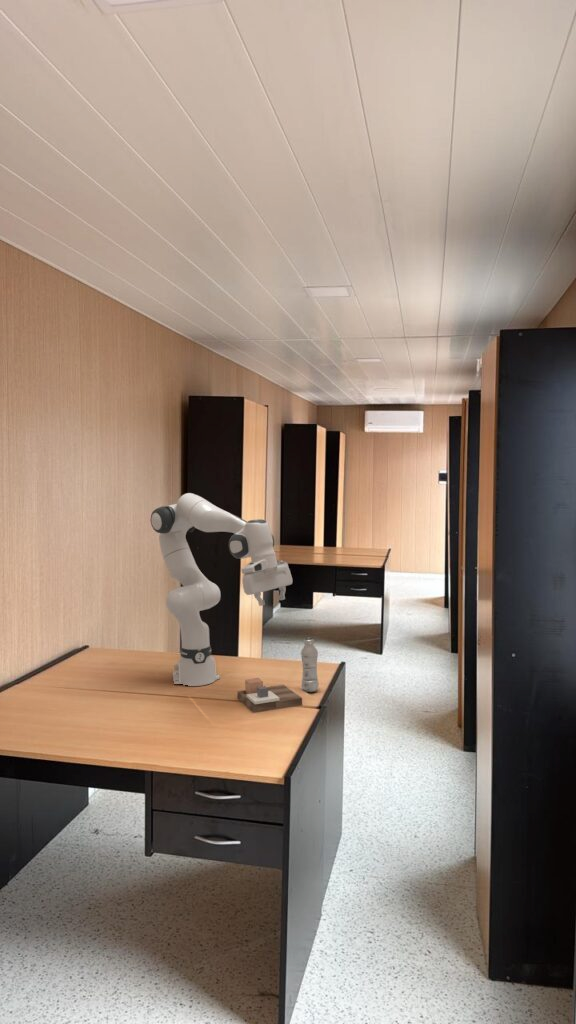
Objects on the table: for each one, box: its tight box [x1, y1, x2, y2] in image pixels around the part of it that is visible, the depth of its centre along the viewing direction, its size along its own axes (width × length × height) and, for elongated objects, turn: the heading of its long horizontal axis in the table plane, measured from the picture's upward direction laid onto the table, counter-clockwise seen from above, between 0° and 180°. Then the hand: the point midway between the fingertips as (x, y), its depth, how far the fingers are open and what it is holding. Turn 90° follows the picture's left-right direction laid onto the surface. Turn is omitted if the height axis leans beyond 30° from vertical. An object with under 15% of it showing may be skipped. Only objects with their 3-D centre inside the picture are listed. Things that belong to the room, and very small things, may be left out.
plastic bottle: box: [300, 637, 320, 693], centre depth 280 cm, size 6×7×20 cm
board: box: [236, 684, 303, 713], centre depth 267 cm, size 18×18×4 cm
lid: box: [246, 685, 279, 704], centre depth 261 cm, size 9×9×4 cm
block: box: [244, 677, 264, 694], centre depth 270 cm, size 5×5×7 cm
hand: (272, 602), depth 265 cm, fingers open, 8 cm apart
